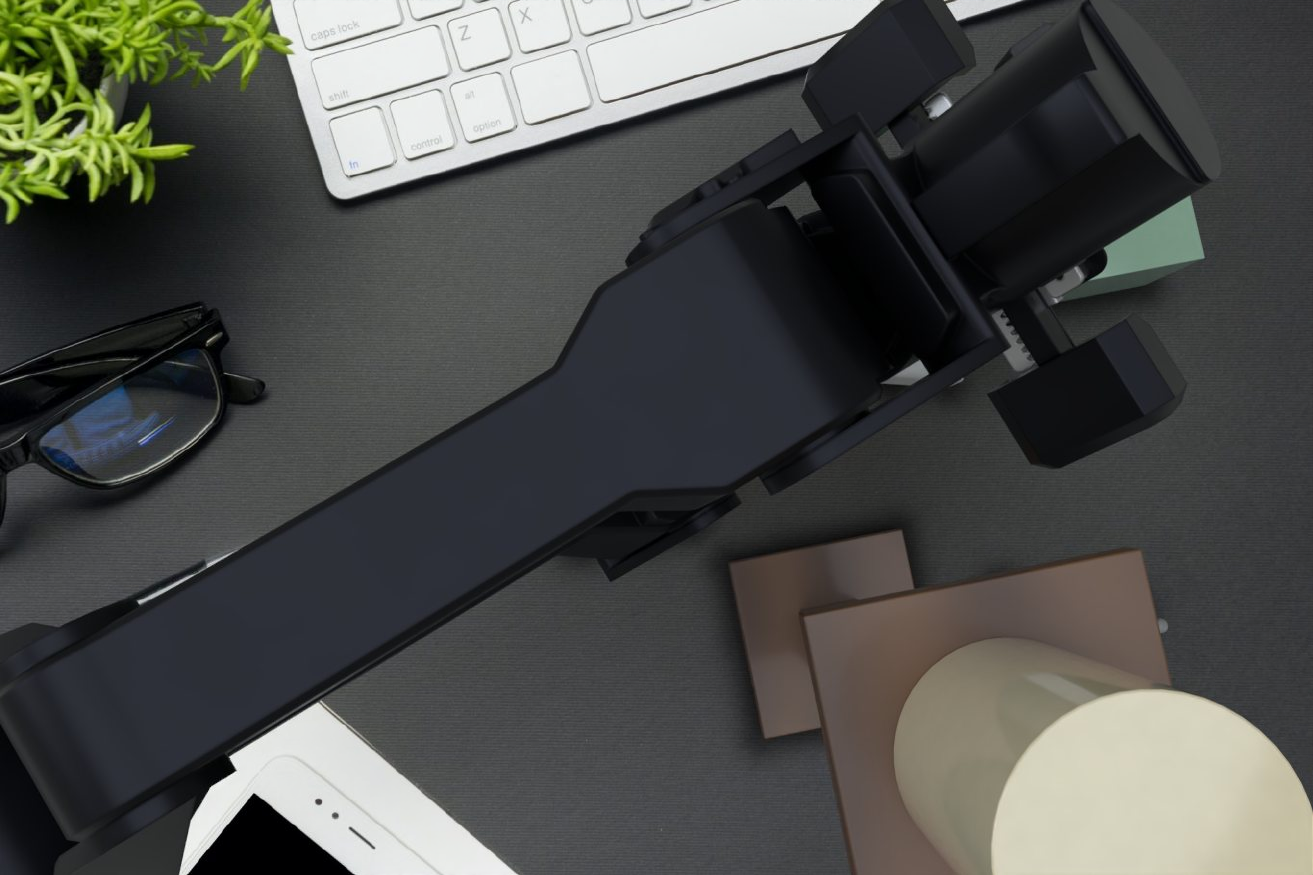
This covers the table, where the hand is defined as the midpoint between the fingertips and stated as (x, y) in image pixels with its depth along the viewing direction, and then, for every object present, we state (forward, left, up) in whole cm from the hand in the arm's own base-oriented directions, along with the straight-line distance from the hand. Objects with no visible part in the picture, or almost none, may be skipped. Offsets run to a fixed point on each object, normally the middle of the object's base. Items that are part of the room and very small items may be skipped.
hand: (1055, 200), depth 48 cm
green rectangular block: (+2, 0, -9) cm, 9 cm away
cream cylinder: (-13, -18, +19) cm, 29 cm away
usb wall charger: (-7, -4, -9) cm, 12 cm away
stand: (-13, -18, -9) cm, 24 cm away
